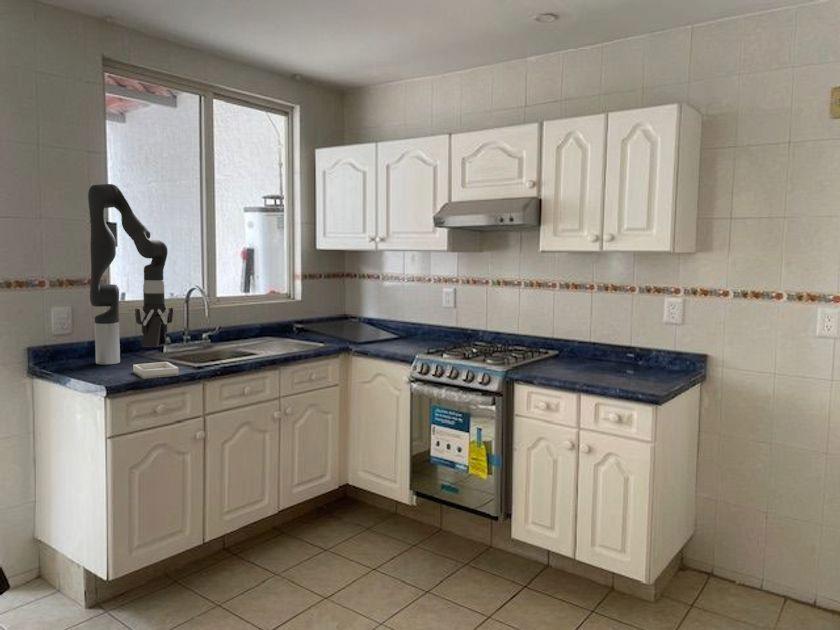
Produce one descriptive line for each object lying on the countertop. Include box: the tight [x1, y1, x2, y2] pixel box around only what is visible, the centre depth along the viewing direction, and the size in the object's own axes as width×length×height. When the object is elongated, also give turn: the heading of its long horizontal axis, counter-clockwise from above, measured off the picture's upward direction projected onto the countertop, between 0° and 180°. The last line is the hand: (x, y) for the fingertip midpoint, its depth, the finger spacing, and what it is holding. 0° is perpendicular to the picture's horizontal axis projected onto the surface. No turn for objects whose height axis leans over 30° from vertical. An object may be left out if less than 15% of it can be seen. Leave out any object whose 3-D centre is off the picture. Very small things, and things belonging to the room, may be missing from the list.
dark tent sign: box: [141, 315, 168, 348], centre depth 249 cm, size 9×6×12 cm, turn 175°
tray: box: [132, 361, 180, 380], centre depth 251 cm, size 15×13×3 cm
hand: (154, 334), depth 250 cm, fingers closed on dark tent sign, 6 cm apart
